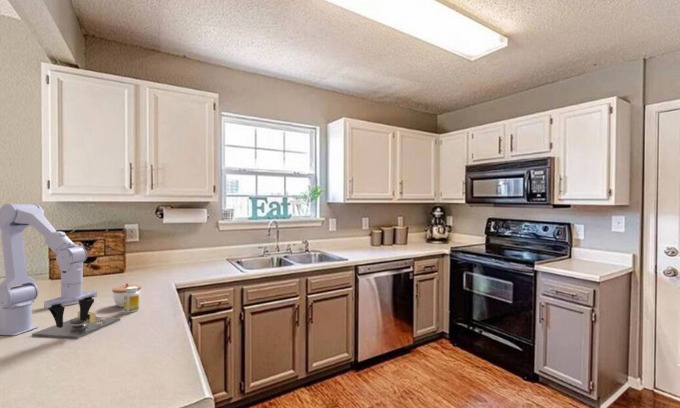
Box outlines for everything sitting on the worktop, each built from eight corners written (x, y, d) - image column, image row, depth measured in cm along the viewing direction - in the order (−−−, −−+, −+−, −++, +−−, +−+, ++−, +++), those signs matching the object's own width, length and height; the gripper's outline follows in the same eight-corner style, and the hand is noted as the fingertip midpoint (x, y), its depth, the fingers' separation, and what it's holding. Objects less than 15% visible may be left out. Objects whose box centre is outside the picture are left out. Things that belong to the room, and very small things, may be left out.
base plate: (32, 335, 112) (32, 329, 112) (80, 318, 130) (80, 312, 130) (77, 338, 110) (77, 332, 110) (120, 320, 128) (120, 314, 128)
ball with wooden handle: (66, 322, 119) (66, 311, 119) (83, 318, 123) (83, 307, 123) (84, 327, 114) (84, 316, 114) (100, 322, 119) (100, 311, 119)
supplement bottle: (121, 313, 136) (121, 289, 136) (128, 308, 141) (128, 286, 142) (135, 312, 137) (135, 289, 137) (141, 308, 142) (141, 285, 142)
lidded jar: (106, 307, 144) (106, 285, 144) (130, 300, 154) (130, 280, 154) (123, 310, 140) (123, 287, 140) (146, 303, 150) (146, 282, 150)
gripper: (52, 289, 104) (52, 332, 104) (102, 279, 118) (102, 318, 117) (40, 286, 107) (40, 329, 107) (90, 278, 121) (90, 315, 120)
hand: (71, 323), depth 113 cm, fingers open, 6 cm apart
